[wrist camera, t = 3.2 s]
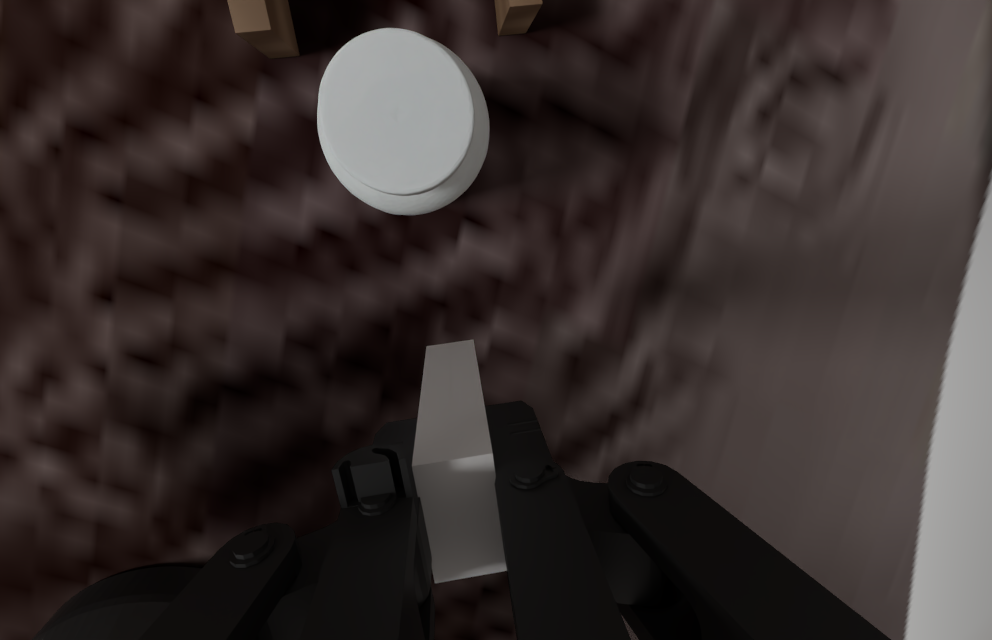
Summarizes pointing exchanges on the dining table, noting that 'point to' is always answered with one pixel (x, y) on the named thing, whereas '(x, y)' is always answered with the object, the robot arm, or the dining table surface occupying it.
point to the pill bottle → (402, 121)
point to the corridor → (271, 31)
